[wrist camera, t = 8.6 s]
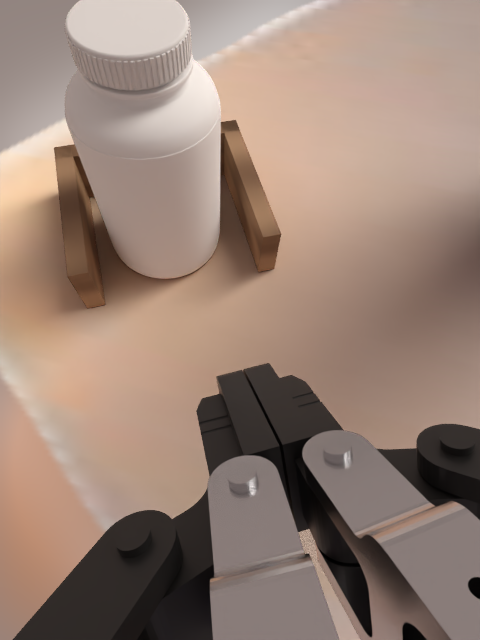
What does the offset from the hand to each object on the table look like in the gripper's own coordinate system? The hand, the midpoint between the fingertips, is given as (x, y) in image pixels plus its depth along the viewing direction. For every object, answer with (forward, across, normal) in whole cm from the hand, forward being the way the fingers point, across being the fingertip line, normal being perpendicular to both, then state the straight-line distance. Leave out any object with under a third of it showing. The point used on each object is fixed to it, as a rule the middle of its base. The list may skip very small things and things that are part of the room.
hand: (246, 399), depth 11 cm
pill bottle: (+22, +1, -2) cm, 22 cm away
